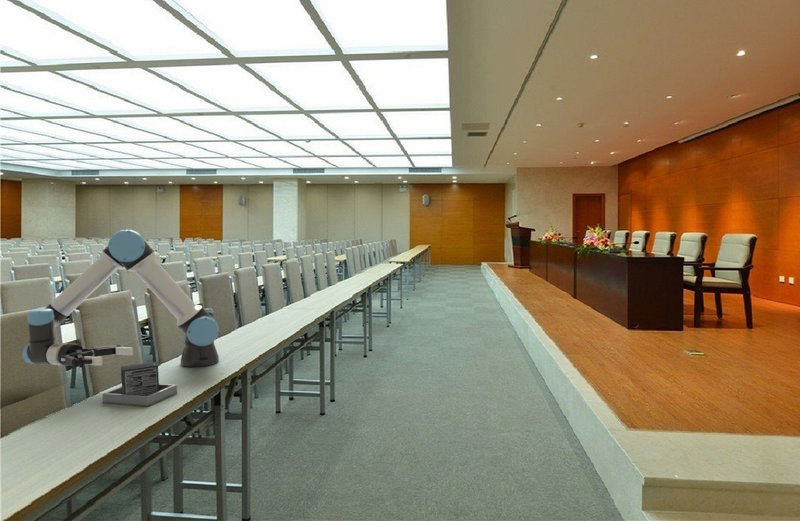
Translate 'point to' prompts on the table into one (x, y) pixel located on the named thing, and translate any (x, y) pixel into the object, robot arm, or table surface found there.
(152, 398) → the tray
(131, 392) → the small box
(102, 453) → the table surface
